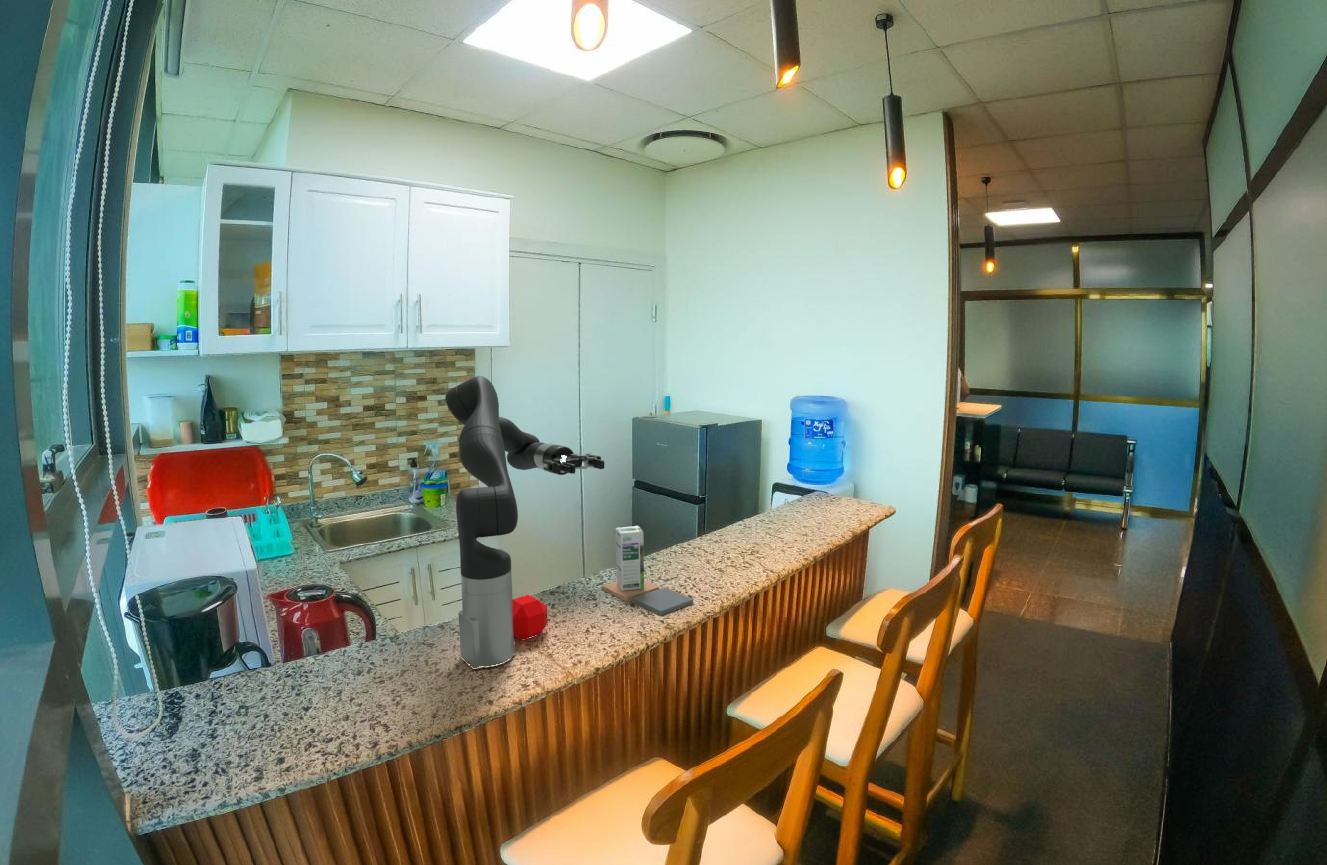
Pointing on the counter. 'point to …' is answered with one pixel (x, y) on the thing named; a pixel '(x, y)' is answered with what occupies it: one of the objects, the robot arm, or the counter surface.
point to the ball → (528, 616)
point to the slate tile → (663, 601)
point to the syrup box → (630, 558)
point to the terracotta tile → (628, 594)
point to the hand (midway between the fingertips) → (588, 467)
